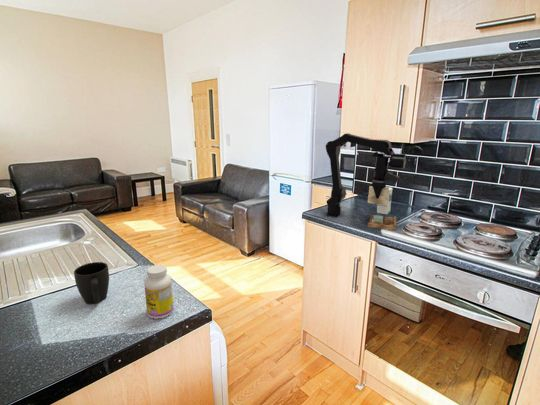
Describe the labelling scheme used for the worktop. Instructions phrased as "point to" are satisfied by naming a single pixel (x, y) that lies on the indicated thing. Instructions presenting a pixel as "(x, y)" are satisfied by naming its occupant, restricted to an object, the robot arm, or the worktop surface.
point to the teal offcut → (378, 218)
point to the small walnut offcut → (388, 221)
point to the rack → (383, 226)
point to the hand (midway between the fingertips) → (377, 197)
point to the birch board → (382, 197)
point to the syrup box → (385, 208)
